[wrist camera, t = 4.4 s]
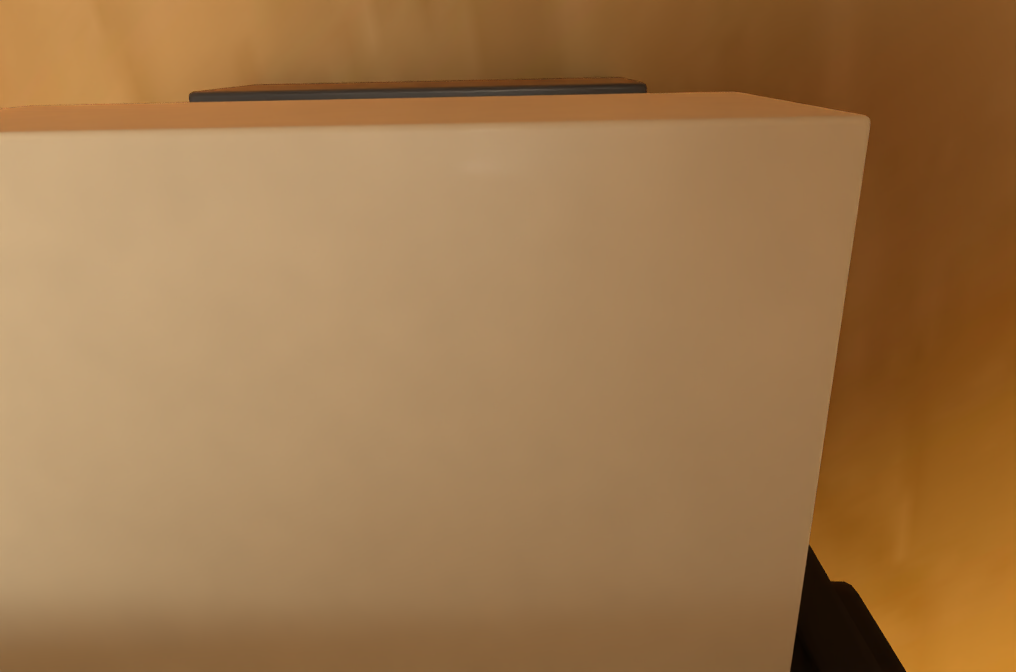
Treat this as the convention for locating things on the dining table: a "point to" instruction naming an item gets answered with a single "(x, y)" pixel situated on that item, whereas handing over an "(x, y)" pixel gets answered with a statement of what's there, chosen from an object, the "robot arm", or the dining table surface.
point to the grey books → (421, 89)
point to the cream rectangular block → (417, 380)
